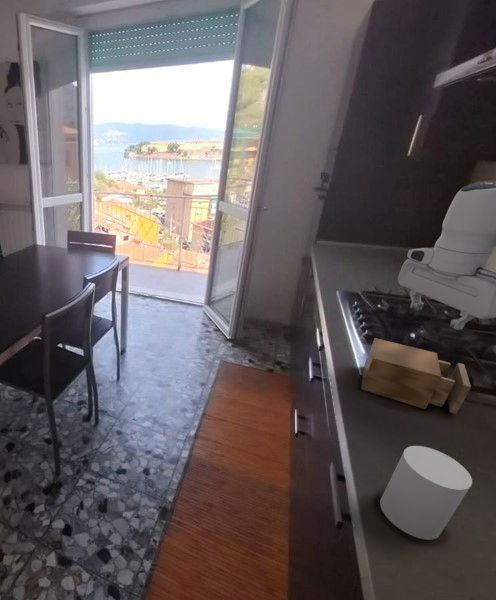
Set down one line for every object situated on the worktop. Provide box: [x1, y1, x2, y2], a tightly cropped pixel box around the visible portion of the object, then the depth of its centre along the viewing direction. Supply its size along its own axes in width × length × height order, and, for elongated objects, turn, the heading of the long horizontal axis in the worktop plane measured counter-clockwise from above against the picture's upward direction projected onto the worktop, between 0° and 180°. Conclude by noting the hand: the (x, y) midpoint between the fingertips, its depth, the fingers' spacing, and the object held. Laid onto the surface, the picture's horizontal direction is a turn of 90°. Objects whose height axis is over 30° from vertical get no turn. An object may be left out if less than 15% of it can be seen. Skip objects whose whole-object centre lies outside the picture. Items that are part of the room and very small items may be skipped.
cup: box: [379, 445, 473, 541], centre depth 59 cm, size 8×8×12 cm
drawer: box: [428, 359, 472, 415], centre depth 86 cm, size 13×10×8 cm
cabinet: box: [360, 337, 441, 410], centre depth 90 cm, size 13×12×10 cm
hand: (434, 318), depth 81 cm, fingers open, 8 cm apart
